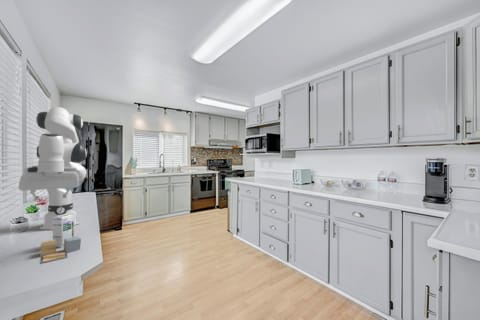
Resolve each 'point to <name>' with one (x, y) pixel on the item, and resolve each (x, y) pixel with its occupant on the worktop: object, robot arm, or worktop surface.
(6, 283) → the worktop surface
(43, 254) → the oak cube
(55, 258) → the tile
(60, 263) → the worktop surface
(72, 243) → the slate cube
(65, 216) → the syrup box
